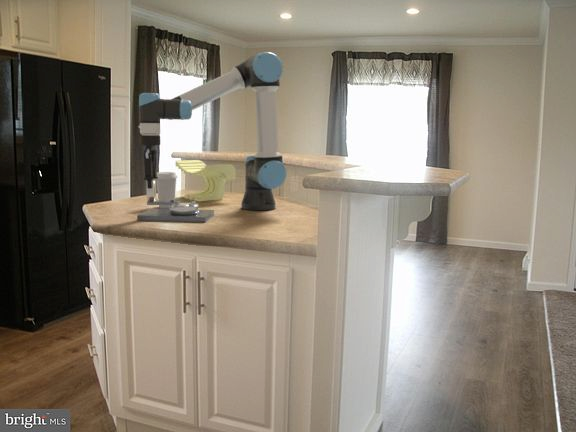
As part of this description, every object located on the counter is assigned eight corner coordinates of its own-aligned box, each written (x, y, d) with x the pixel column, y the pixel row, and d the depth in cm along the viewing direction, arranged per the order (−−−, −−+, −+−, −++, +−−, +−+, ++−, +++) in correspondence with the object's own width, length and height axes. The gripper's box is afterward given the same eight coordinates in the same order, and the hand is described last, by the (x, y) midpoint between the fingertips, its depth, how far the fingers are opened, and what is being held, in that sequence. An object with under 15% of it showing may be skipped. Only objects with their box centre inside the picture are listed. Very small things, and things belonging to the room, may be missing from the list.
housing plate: (213, 214, 222) (213, 209, 221) (205, 222, 205) (205, 216, 205) (150, 213, 223) (150, 208, 223) (137, 220, 206) (137, 214, 206)
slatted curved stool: (235, 201, 262) (235, 163, 259) (206, 203, 252) (206, 164, 249) (203, 194, 285) (203, 159, 282) (176, 196, 275) (175, 160, 272)
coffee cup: (172, 209, 234) (171, 174, 232) (151, 208, 236) (150, 173, 233) (181, 206, 243) (180, 172, 241) (161, 205, 245) (160, 171, 243)
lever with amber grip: (199, 210, 219) (199, 180, 217) (197, 214, 208) (196, 183, 206) (150, 209, 218) (149, 179, 215) (145, 214, 207) (144, 182, 205)
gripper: (144, 134, 215) (146, 193, 219) (135, 134, 199) (136, 198, 203) (163, 134, 215) (164, 193, 219) (155, 135, 200) (157, 199, 203)
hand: (151, 196), depth 211 cm, fingers closed on lever with amber grip, 3 cm apart
